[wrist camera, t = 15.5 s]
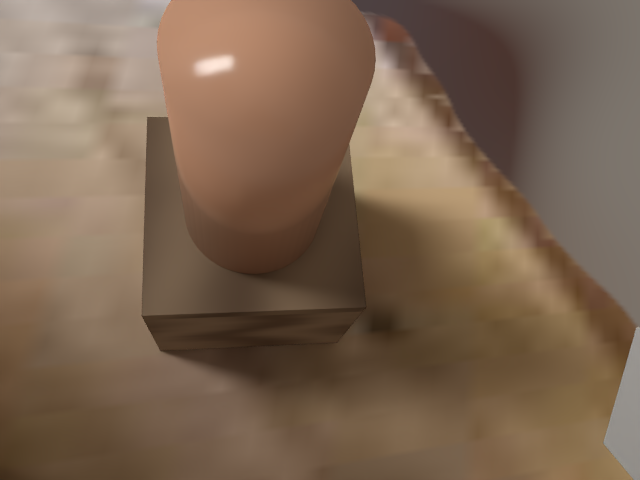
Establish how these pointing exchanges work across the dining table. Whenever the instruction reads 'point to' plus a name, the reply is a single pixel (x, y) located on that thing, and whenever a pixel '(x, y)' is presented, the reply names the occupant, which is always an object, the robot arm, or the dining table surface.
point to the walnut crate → (239, 288)
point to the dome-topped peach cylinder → (261, 119)
